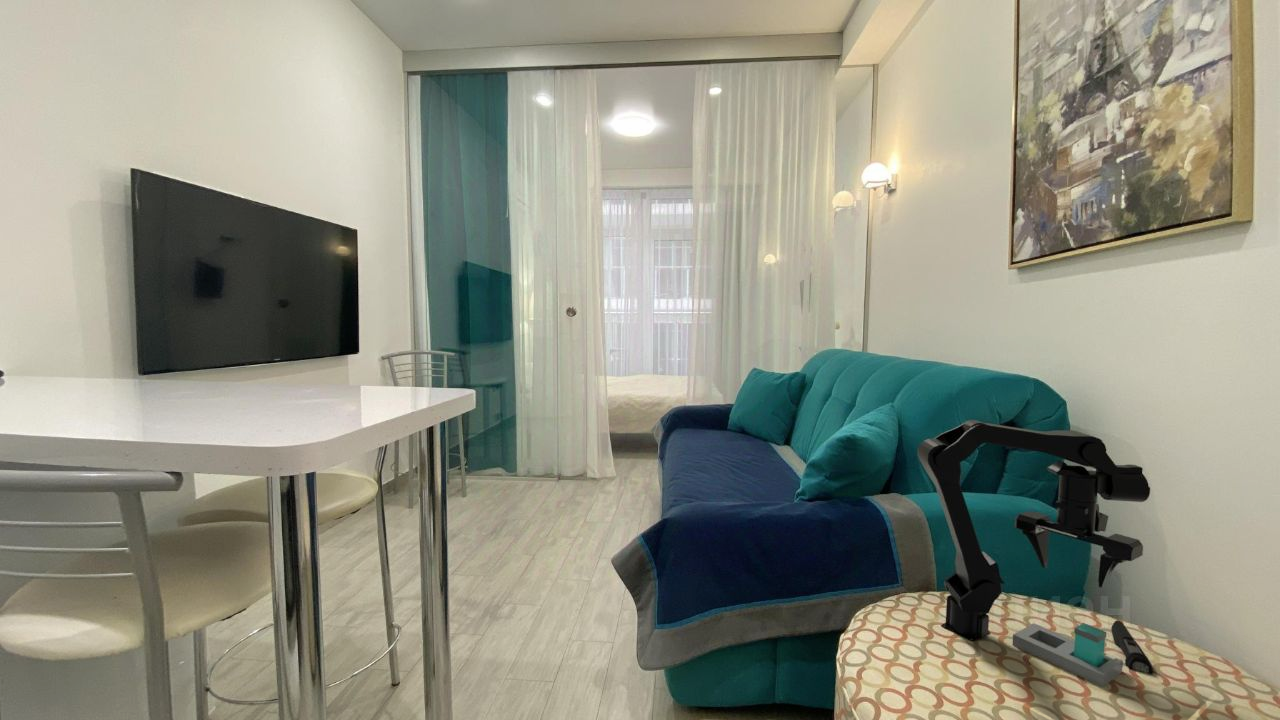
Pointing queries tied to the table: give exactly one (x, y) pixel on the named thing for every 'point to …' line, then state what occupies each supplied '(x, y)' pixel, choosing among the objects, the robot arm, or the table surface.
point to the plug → (1089, 644)
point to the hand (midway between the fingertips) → (1072, 577)
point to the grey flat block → (1065, 654)
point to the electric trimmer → (1130, 649)
